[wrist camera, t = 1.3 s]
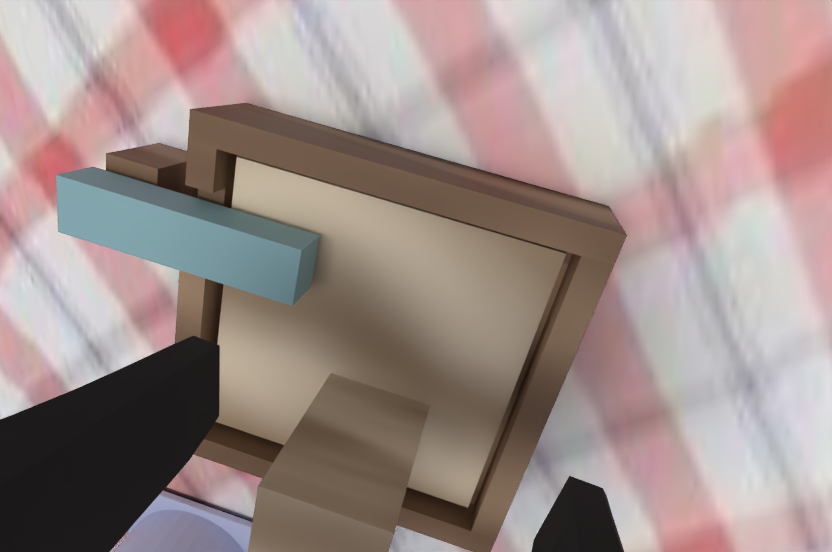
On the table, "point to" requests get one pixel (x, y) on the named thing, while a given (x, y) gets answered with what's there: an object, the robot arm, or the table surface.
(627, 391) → the table surface
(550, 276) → the lid
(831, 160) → the table surface
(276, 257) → the rectangular block
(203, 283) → the tray
